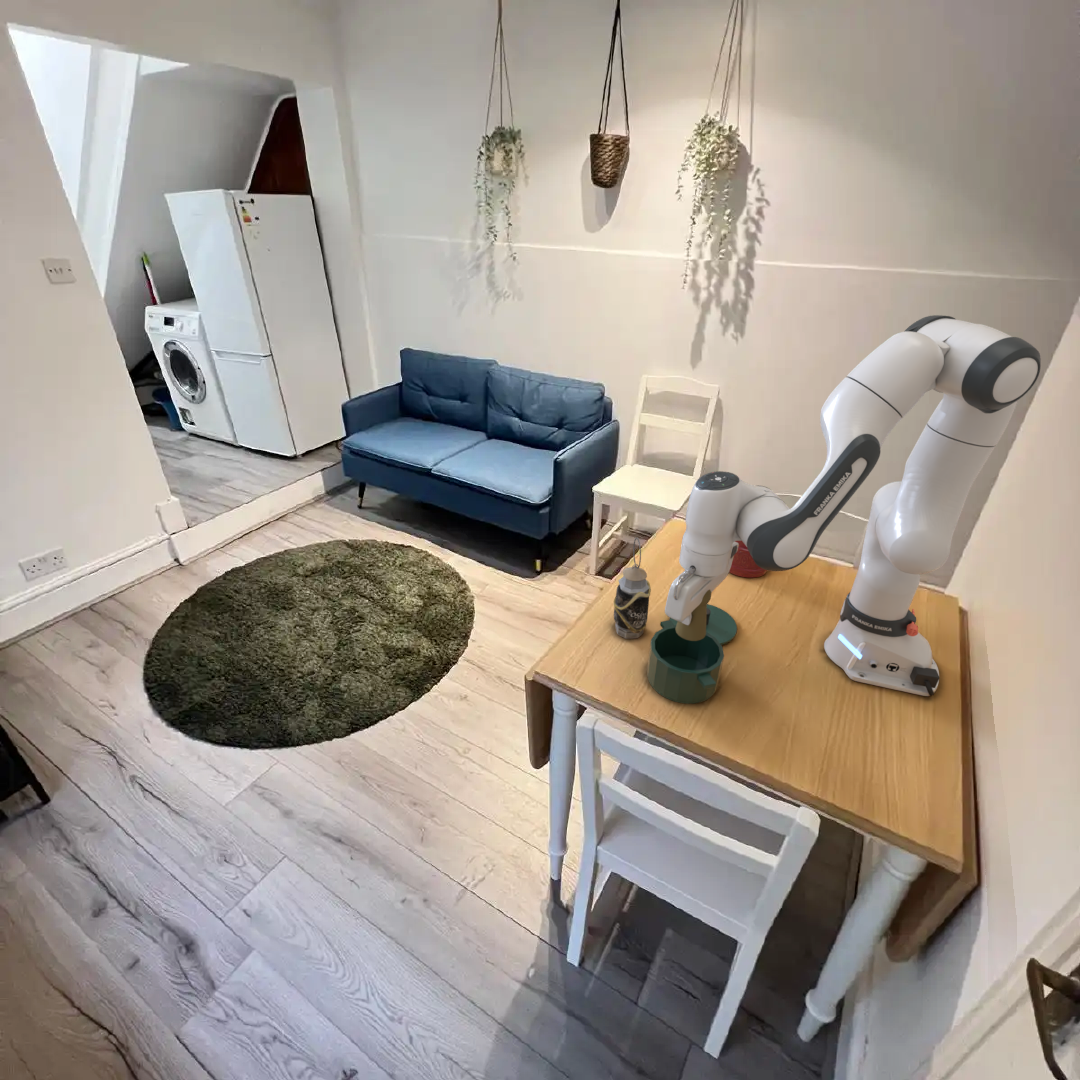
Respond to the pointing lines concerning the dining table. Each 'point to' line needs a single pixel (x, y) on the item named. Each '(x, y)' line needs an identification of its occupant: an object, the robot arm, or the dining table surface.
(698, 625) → the tan game pawn
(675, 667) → the pot
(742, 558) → the kitchen canister
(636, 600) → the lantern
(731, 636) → the lid
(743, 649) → the dining table surface
